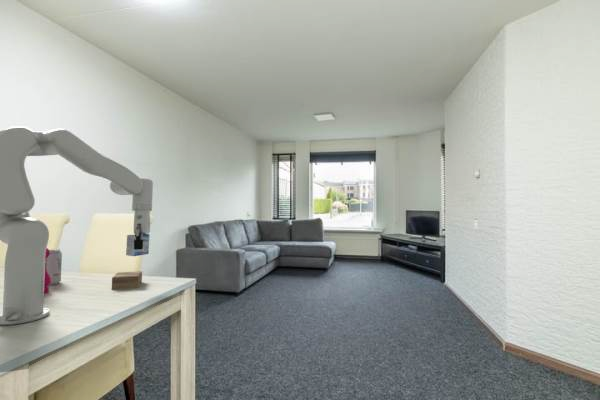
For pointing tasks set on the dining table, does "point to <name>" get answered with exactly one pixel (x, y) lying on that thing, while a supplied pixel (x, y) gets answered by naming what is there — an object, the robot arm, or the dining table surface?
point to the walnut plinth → (127, 280)
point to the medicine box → (132, 252)
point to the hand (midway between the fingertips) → (140, 247)
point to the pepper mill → (46, 274)
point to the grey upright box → (54, 266)
